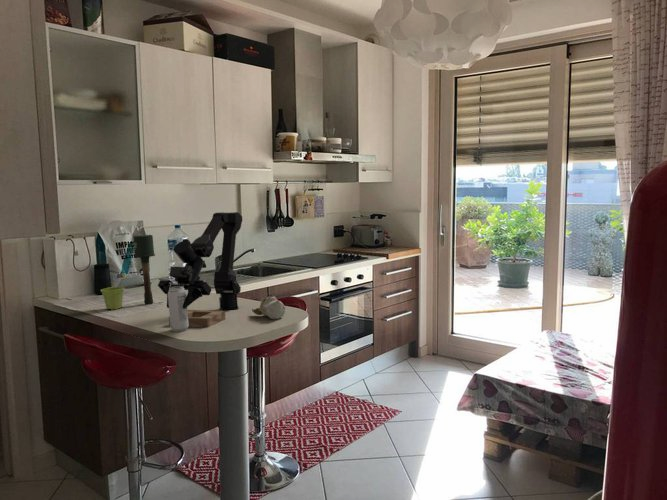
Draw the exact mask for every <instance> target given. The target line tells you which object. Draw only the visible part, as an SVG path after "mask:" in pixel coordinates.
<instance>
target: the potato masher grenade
mask: <svg viewBox="0 0 667 500" xmlns="http://www.w3.org/2000/svg"><path fill="white" fill-rule="evenodd" d="M133 247H134V258H140V263H141V270H142V278H143V289H144V294H143V297H144V299H143V300H144V301H143V302H144V305H146V304H149V305H153V302H154V299H153V294H152V287H151V286H152V285H151V276H150V275H151V274H150V272H151V270H150V258H151V257H155V256H156V253H155V246H154V236H153V234H143V235H134V236H133Z"/></svg>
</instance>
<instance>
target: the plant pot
mask: <svg viewBox="0 0 667 500" xmlns="http://www.w3.org/2000/svg"><path fill="white" fill-rule="evenodd" d="M124 290H125V286H111V287H106V288H102V289H100V290H99V291H100V292H101V294H102V296H103V299H104V304H105V308H106V310H107V309H111V310H113V309H116V310H119V309H118V308H120V309H122V308H123V298H124V295H123V294H124ZM121 307H122V308H121Z"/></svg>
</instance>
